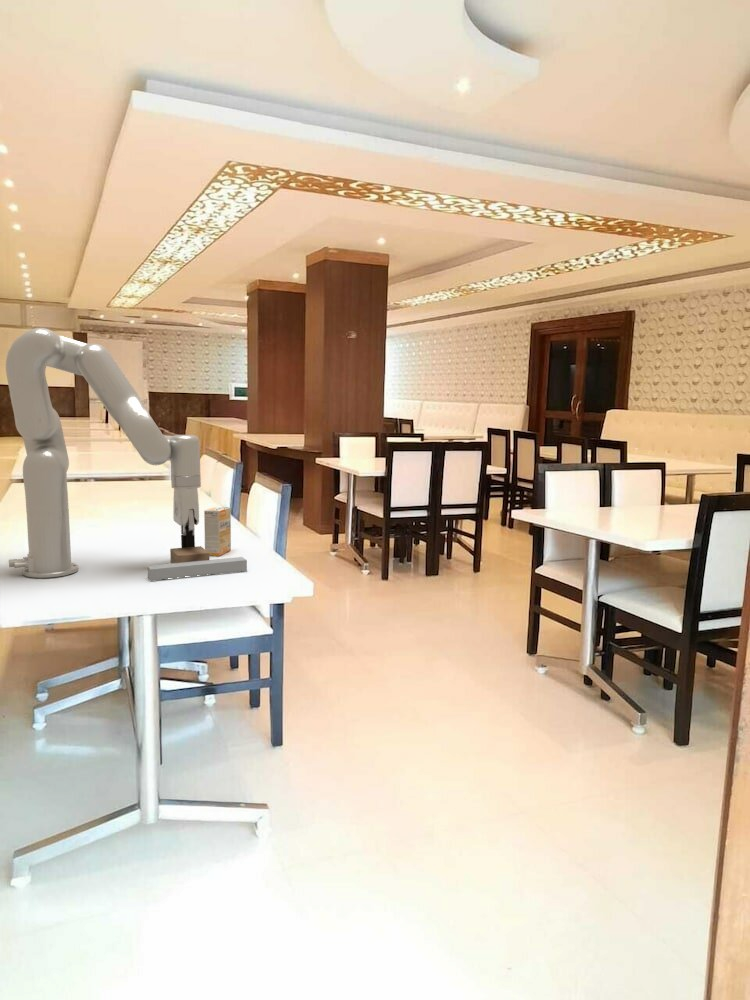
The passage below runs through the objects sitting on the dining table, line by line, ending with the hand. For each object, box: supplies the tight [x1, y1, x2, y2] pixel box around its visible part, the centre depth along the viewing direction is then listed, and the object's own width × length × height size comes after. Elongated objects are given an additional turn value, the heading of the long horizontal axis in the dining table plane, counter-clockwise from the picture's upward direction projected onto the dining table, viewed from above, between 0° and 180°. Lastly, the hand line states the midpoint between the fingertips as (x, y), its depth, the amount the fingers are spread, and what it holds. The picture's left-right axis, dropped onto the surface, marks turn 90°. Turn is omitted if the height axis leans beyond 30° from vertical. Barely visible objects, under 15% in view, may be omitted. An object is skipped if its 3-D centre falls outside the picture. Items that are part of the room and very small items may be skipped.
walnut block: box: [169, 545, 210, 564], centre depth 179 cm, size 8×9×5 cm
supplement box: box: [203, 506, 232, 557], centre depth 197 cm, size 8×5×13 cm, turn 168°
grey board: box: [147, 556, 248, 582], centre depth 173 cm, size 24×4×3 cm, turn 118°
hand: (188, 549), depth 184 cm, fingers closed
